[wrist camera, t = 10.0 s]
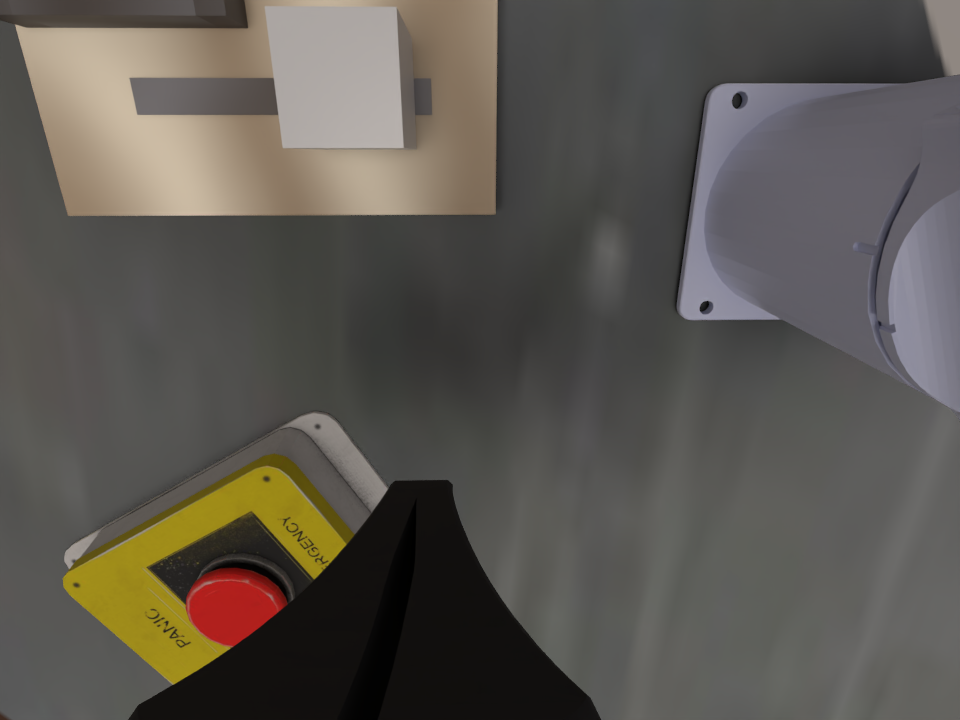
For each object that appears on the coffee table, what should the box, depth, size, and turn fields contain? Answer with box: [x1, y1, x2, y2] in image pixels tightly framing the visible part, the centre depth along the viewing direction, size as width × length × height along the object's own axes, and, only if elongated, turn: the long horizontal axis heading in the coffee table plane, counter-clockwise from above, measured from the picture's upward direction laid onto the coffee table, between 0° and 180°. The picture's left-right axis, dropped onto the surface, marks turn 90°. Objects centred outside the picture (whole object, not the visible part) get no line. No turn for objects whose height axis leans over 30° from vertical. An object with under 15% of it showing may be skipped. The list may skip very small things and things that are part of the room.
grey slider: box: [265, 6, 417, 150], centre depth 14 cm, size 3×3×4 cm
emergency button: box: [63, 411, 389, 685], centre depth 23 cm, size 9×4×15 cm
